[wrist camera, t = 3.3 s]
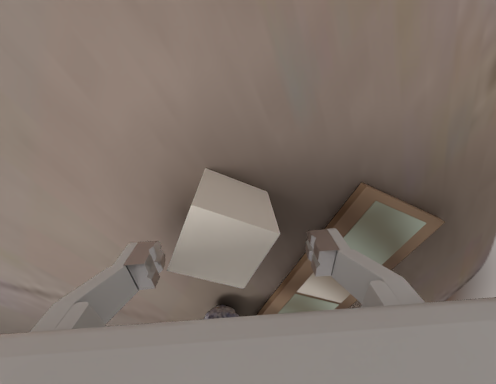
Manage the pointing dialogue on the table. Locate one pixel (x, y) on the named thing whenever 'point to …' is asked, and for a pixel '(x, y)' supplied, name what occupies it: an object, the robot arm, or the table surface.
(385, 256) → the brown rectangular frame
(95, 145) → the table surface
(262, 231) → the cream white cube
